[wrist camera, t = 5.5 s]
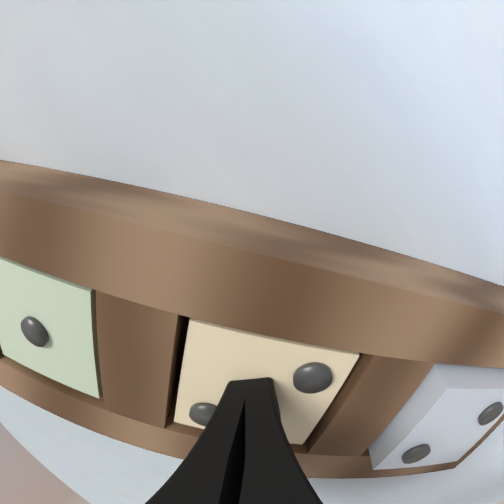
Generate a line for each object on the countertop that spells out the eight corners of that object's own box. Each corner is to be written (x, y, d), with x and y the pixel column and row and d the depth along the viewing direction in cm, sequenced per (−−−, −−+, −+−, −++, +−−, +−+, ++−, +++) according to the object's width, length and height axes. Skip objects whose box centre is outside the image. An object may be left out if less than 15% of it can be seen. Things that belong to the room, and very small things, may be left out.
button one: (126, 253, 11) (87, 295, 8) (123, 353, 13) (97, 402, 10) (23, 223, 11) (-24, 252, 8) (34, 320, 12) (1, 357, 10)
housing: (535, 297, 11) (568, 330, 8) (440, 431, 15) (454, 468, 12) (-13, 157, 9) (-63, 174, 7) (8, 340, 13) (-20, 372, 11)
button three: (342, 305, 11) (360, 359, 9) (298, 394, 13) (302, 448, 10) (206, 273, 11) (187, 324, 8) (187, 372, 13) (172, 425, 10)
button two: (495, 347, 11) (526, 390, 8) (440, 420, 13) (457, 464, 10) (418, 336, 10) (449, 392, 8) (361, 419, 12) (373, 473, 10)
